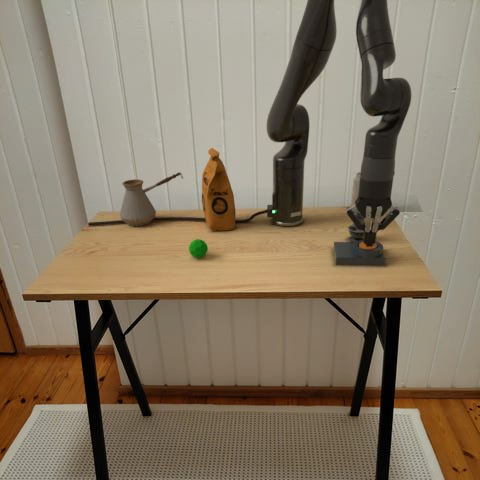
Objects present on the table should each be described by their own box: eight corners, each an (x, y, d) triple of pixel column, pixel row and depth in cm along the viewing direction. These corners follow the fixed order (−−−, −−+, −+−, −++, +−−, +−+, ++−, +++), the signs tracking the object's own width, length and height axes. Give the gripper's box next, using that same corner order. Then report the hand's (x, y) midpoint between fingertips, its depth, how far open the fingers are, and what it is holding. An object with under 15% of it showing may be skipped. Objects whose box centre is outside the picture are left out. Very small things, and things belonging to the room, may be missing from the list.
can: (374, 215, 144) (379, 176, 138) (350, 214, 145) (354, 176, 139) (373, 207, 150) (378, 170, 144) (350, 206, 152) (354, 170, 145)
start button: (359, 254, 114) (360, 248, 113) (357, 247, 118) (358, 241, 117) (377, 255, 113) (378, 248, 113) (375, 247, 117) (375, 241, 116)
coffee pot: (118, 229, 142) (109, 181, 134) (123, 217, 152) (115, 171, 144) (187, 225, 143) (182, 177, 135) (187, 213, 153) (183, 167, 145)
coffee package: (205, 233, 137) (198, 157, 125) (203, 219, 147) (197, 148, 135) (237, 230, 137) (234, 155, 126) (233, 216, 148) (230, 146, 136)
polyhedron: (211, 258, 121) (209, 241, 119) (194, 262, 120) (192, 245, 117) (203, 251, 125) (202, 235, 123) (187, 255, 124) (185, 239, 121)
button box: (335, 265, 115) (336, 251, 113) (333, 249, 123) (334, 235, 121) (384, 266, 113) (386, 251, 111) (378, 249, 122) (380, 235, 120)
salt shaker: (370, 237, 129) (375, 196, 122) (365, 245, 124) (371, 202, 118) (349, 235, 131) (353, 194, 125) (344, 242, 127) (348, 200, 120)
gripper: (403, 170, 108) (393, 239, 117) (346, 171, 109) (340, 239, 119) (409, 179, 101) (398, 251, 111) (349, 180, 103) (343, 250, 112)
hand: (368, 244), depth 115 cm, fingers closed
